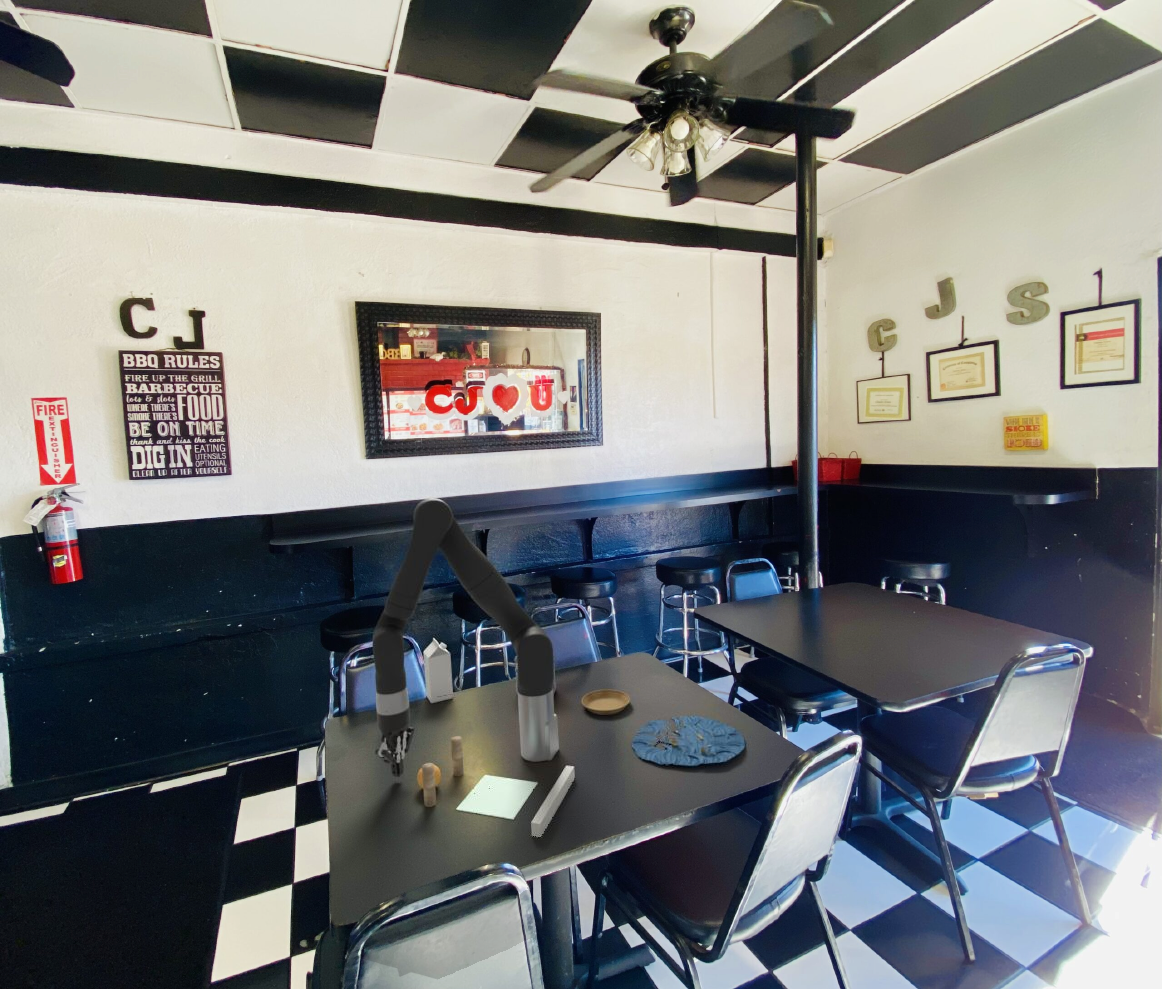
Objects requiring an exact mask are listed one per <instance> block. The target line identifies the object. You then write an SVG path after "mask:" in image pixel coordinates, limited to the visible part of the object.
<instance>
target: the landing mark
mask: <svg viewBox="0 0 1162 989" xmlns="http://www.w3.org/2000/svg"><path fill="white" fill-rule="evenodd" d="M538 784H539V783H538V782H537V781H536V782H535V781H529V780H522V779H515V778H510V777H509V778H508V777H504V776H497V775H489V774H484V775H483V777H482V778H481V779H480V780H479V781H478V782H477V784H476V785H475V786H474V787H473V788H474V789H473V788H472V790H470V792H469V793H468V794H467V796H466V797H464V799H463V800H462V802H461V803H460V804H459V805H458V806H457V807H456V809H455V810H456V811H459V812H465V813H472V814H476V813H477V814H478V815H483V816H489V817H495V818H501V819H507V820H512V821H514V819H515V818H516V817H517V815H518V814H519V813H520V810H521V809H522V807H523V806H524V804H525V803H526V802H527V800H528V798H530V795H531V794H532V793H533V791H534V790H535V788H536V786H537V785H538ZM489 788H490V789H489ZM533 789H534V790H533ZM474 793H475V794H474Z"/></svg>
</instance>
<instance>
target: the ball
mask: <svg viewBox="0 0 1162 989" xmlns="http://www.w3.org/2000/svg"><path fill="white" fill-rule="evenodd" d="M441 772H442V771H441V770H440V768H439V767H438V766H437V765H436V764H434V776H435V788H436V787H438V785H439V783H440V781H441V778H442V773H441ZM416 777H417V778H416V781H417V784H418V786H419V787H420V788H421V789H423V775H422V767H421V768H420V769H419V770H418V773H417V776H416Z"/></svg>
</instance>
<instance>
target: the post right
mask: <svg viewBox="0 0 1162 989" xmlns="http://www.w3.org/2000/svg"><path fill="white" fill-rule="evenodd" d="M462 740H463V739H462V736H460V735H457V736H453V737H451V738H450V747H451V762H452V776H454V777H462V776H463V775H464V772H465V771H464V758H463V757H464V755H463V743H462V742H463V741H462Z"/></svg>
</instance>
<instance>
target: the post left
mask: <svg viewBox="0 0 1162 989" xmlns="http://www.w3.org/2000/svg"><path fill="white" fill-rule="evenodd" d="M434 765H435V764H434V763H433V762H427V763H426V762H425V763H424V764H422V766H421V768H422V775H423V788H422V789H423V800H424V803H423V804H424V807H426V808H431V807H434V806H436V805H437V794H436V787H435V776H434Z"/></svg>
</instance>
